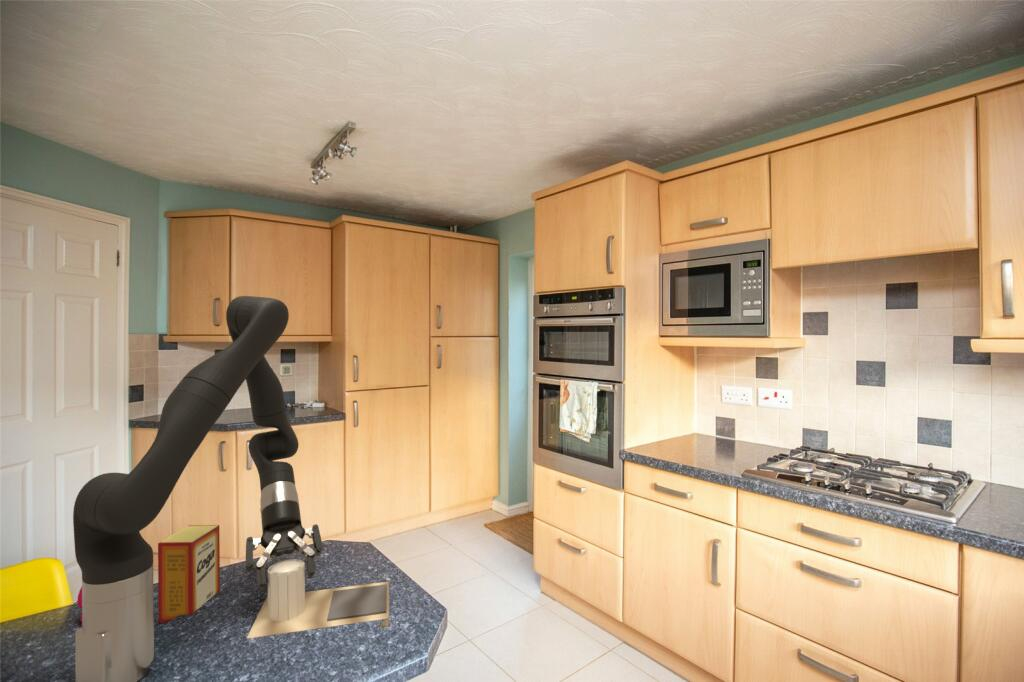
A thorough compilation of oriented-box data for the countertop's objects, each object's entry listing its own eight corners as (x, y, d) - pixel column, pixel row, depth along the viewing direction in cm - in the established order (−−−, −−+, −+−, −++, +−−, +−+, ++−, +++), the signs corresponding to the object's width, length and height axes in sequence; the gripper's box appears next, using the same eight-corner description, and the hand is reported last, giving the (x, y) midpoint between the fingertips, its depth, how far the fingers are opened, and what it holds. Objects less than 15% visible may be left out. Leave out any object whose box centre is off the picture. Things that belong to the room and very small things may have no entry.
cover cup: (288, 623, 93) (288, 576, 93) (260, 618, 95) (260, 572, 95) (311, 605, 99) (311, 561, 99) (284, 601, 101) (284, 557, 101)
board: (389, 588, 109) (388, 579, 109) (388, 625, 94) (388, 616, 94) (266, 603, 103) (266, 594, 103) (246, 646, 88) (246, 636, 88)
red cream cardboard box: (189, 597, 106) (189, 523, 106) (219, 596, 106) (219, 523, 106) (158, 622, 96) (157, 541, 96) (191, 621, 96) (191, 540, 96)
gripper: (243, 505, 100) (247, 584, 90) (317, 493, 108) (328, 565, 98) (242, 523, 105) (246, 600, 95) (312, 510, 112) (323, 581, 102)
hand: (287, 582), depth 96 cm, fingers open, 8 cm apart
